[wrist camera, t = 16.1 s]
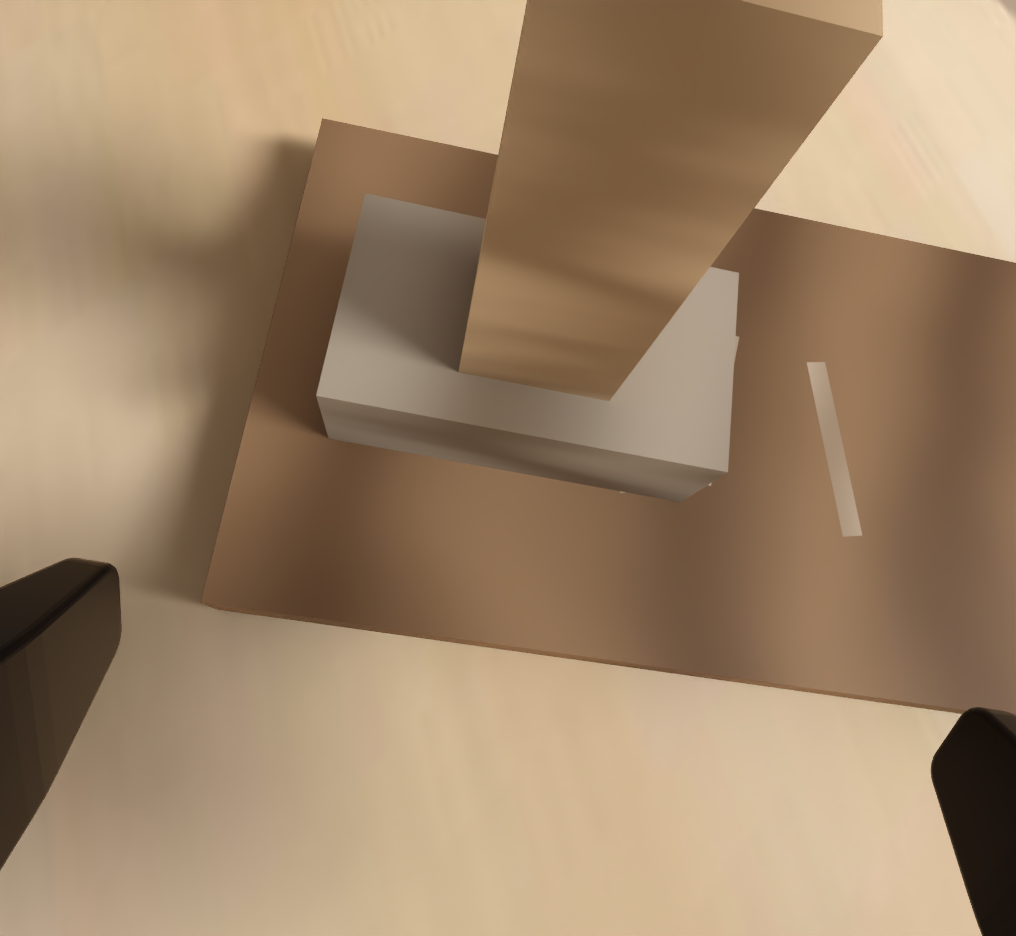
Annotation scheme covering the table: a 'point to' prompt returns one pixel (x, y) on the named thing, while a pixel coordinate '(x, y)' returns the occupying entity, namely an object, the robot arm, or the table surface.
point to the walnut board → (659, 522)
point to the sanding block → (591, 247)
